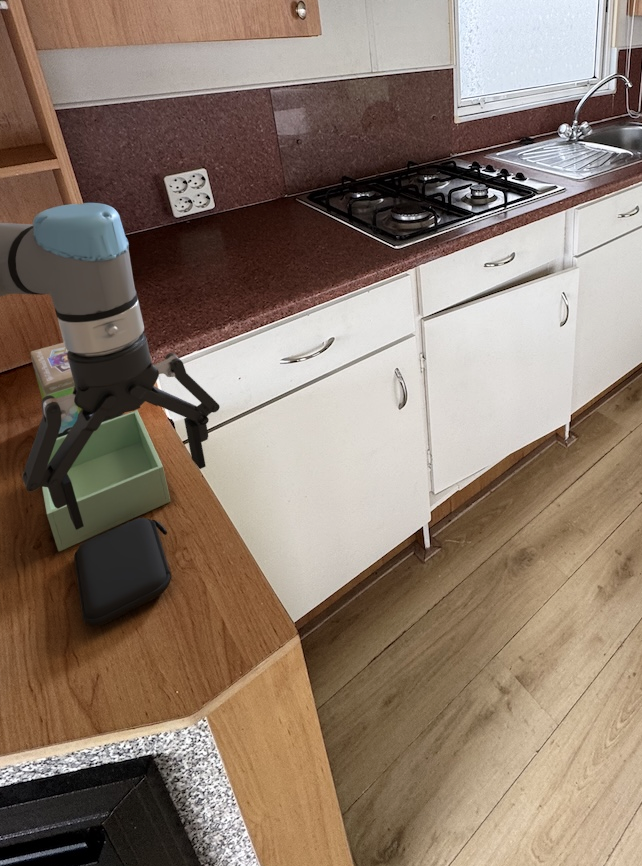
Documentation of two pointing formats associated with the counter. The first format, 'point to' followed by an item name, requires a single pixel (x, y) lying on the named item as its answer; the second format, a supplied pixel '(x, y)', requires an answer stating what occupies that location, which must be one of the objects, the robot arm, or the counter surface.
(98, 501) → the storage bin
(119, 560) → the carrying case
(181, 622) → the counter surface
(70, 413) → the tea box
